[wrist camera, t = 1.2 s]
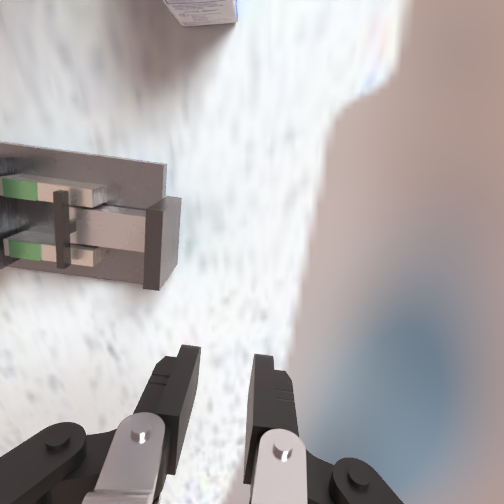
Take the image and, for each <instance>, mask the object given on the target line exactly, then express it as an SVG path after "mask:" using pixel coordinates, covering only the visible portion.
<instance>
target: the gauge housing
mask: <svg viewBox="0 0 504 504" xmlns="http://www.w3.org/2000/svg"><path fill="white" fill-rule="evenodd" d="M166 172H167V164H164V163H156V162H149V161H141V160H134V159H126V158H119V157H112V156H104V155H97V154H89V153H82V152H74V151H67V150H59V149H52V148H45V147H37V146H30V145H22V144H15V143H7V142H0V269H2V268H4V267H6V266H9V267H17V268H25V269H33V270H40V271H48V272H56V273H64V274H71V275H79V276H87V277H95V278H102V279H110V280H118V281H126V282H133V283H141V284H143V280H144V252H138V251H130V250H122V249H115V248H107V247H99V246H92V245H84V244H76V243H70V247H71V265H70V266H69V267H67V268H66V269H59V268H57V262H56V243H55V224H54V205H53V192H54V191H58V190H65V191H68V195H69V205H76V206H84V207H91V208H92V207H95V206H97V205H106V206H114V207H121V208H129V209H136V210H144V211H146V209H147V208H149V207H150V206H152V205H154V204H155V203H157V202H158V201H160V200H162V199H163V198H165V192H166Z"/></svg>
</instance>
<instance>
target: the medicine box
mask: <svg viewBox="0 0 504 504" xmlns="http://www.w3.org/2000/svg"><path fill="white" fill-rule="evenodd" d="M162 1H163V2H164V3H165V5H166V6H167V7H168V9H169V10H170V11H171V12H172V14H173V15H174V17H175V18H176V19H177V20H178V22H179V23H180V24H181V26H198V25H212V24H226V23H236V22H237V21H238V15H237V0H162Z"/></svg>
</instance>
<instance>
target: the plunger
mask: <svg viewBox="0 0 504 504" xmlns="http://www.w3.org/2000/svg"><path fill="white" fill-rule="evenodd" d="M53 205H54V224H55V243H56V262H57V268H59V269H66V268H67V267H69V266H70V265H71V247H70V243H76V244H84V245H92V246H99V247H107V248H115V249H122V250H130V251H138V252H144V280H143V289H150V290H158V291H159V290H160V289H161V287H162V286H163V284H164V283H165V282H166V280H167V279H168V277H169V276H170V274H171V273H172V271H173V270H174V268H175V267H176V265H177V259H178V244H179V228H180V213H181V198H178V197H170V196H167V197H165V198H163V199H162V200H160V201H158V202H157V203H155V204H154V205H152V206H150V207H149V208H147V209H146V211H144V210H136V209H129V208H121V207H114V206H106V205H97V206H95V207H92V208H91V207H84V206H76V205H69V195H68V191H65V190H58V191H54V192H53Z"/></svg>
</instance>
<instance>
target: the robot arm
mask: <svg viewBox="0 0 504 504" xmlns="http://www.w3.org/2000/svg"><path fill="white" fill-rule="evenodd" d="M200 354H201V347H198V346H190V345H181V348H180V350H179V353H178V355H177V357H170V356H165V357H164V358H163V359H162V360H161V361H159V362H158V363H157V364H156V366H155V368H154V370H153V372H152V376H151V377H150V379H149V381H148V384H147V385H146V387H145V390H144V392H143V394H142V396H141V398H140V400H139V402H138V405H137V407H136V409H135V411H134V413H133V415H130V416H129V417H127V418H125V419H124V420H123V421H122V422H121V423H120V424H119V426H118V428H117V429H115V430H113V431H110V432H105V433H99V434H93V435H86V433H85V430H84V429H83V427H82V426H80V425H78V424H76V423H72V422H62V423H57V424H54V425H51V426H49V427H47V428H45V429H43V430H42V431H40V432H39V433H37V434H36V435H34V436H32V437H31V438H29V439H28V440H26V441H25V442H23V443H22V444H20V445H19V446H17V447H15V448H14V449H12V450H11V451H9V452H8V453H6V454H5V455H3V456H2V457H0V504H160V499H161V491H162V489H163V486H164V483H165V479H166V475H167V474H170V475H175V473H176V469H177V465H178V461H179V458H180V454H181V450H182V446H183V442H184V438H185V434H186V430H187V427H188V423H189V419H190V415H191V411H192V407H193V403H194V399H195V395H196V390H197V384H198V375H199V364H200ZM243 483H244V484H251V490H250V501H249V504H404V503H403V502H402V501H401V500H400V499H399V498H398V496H396V494H395V493H394V492H393V491H392V490H391V488H390V487H389V486H388V485H387V484H386V483H385V481H384V480H383V479H382V478H381V477H380V475H378V473H377V472H376V471H375V470H374V469H373V468H372V467H371V466H370V465H368V464H367V463H365V462H363V461H361V460H359V459H355V458H343V459H340V460H339V461H338V462H337V463H336V464H335V465H332V464H330V463H328V462H325V461H323V460H321V459H318V458H316V457H315V456H313V455H312V454H311V453H309V452H308V451H307V450H306V449H305V446H304V444H303V442H302V441H301V439H300V438H299V434H298V425H297V417H296V410H295V402H294V394H293V385H292V380H291V379H290V377H289V376H288V374H287V373H286V371H280V370H274V360H273V356H268V355H261V354H254V359H253V366H252V372H251V379H250V386H249V393H248V404H247V423H246V442H245V460H244V481H243Z"/></svg>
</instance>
